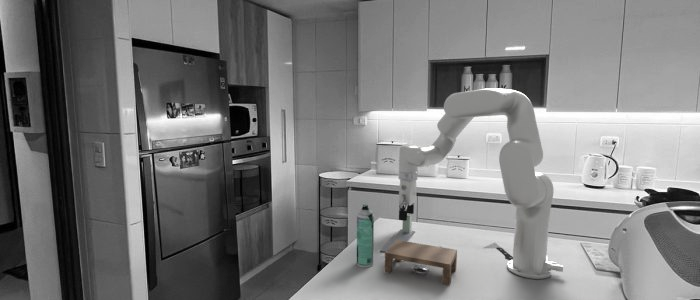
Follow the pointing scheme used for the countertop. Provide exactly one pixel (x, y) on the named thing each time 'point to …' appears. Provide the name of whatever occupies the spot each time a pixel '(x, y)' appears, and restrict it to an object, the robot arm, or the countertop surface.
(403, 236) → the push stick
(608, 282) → the countertop surface
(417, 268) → the disc
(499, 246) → the cleaver
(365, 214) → the spray can
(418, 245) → the walnut bench
